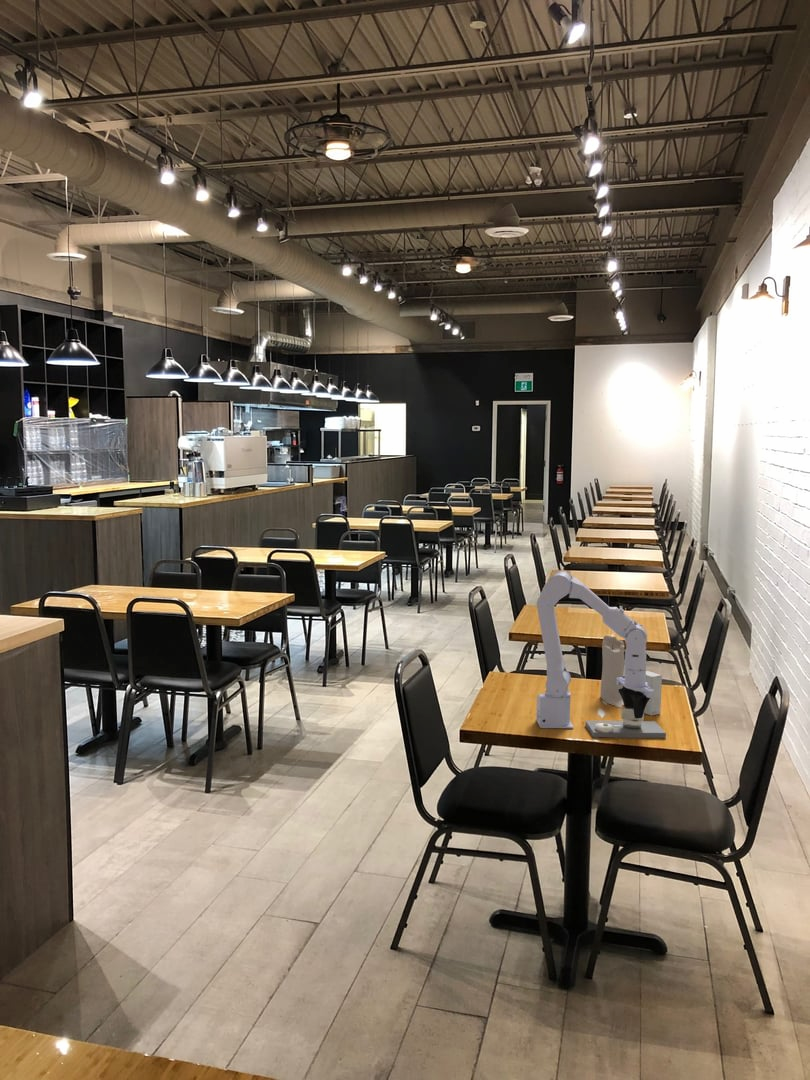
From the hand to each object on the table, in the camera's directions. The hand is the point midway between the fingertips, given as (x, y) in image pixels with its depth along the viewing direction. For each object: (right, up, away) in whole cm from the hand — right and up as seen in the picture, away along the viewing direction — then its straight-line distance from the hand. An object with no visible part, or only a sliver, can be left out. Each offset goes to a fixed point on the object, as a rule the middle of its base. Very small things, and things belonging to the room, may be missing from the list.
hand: (634, 715), depth 238 cm
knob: (-1, -3, 0) cm, 3 cm away
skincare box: (+9, -3, +19) cm, 21 cm away
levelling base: (-3, -5, +1) cm, 5 cm away
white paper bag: (+2, -2, +30) cm, 30 cm away
